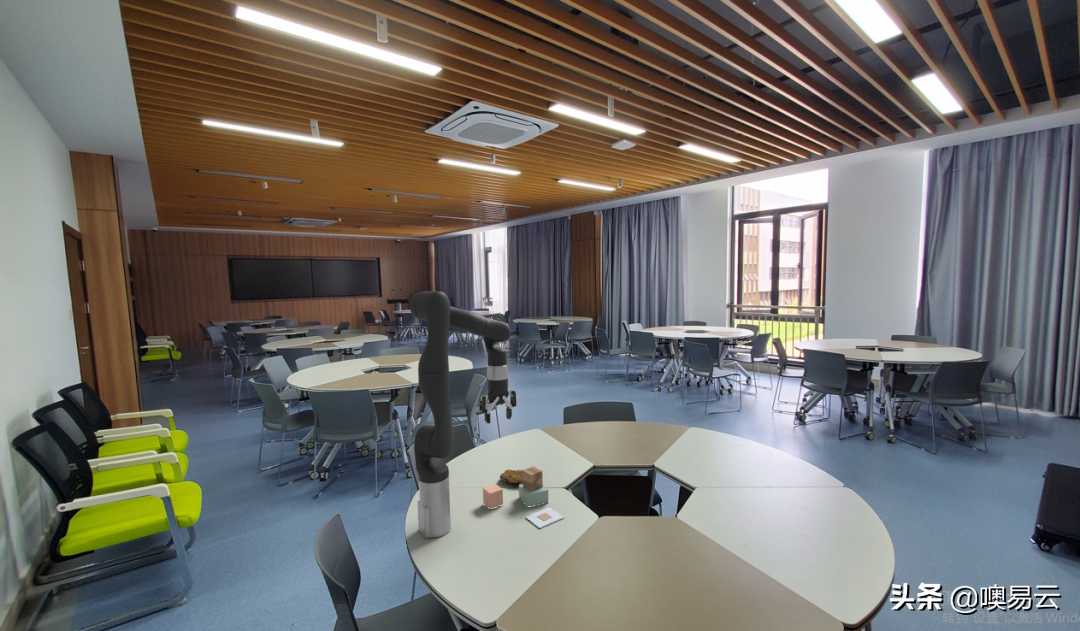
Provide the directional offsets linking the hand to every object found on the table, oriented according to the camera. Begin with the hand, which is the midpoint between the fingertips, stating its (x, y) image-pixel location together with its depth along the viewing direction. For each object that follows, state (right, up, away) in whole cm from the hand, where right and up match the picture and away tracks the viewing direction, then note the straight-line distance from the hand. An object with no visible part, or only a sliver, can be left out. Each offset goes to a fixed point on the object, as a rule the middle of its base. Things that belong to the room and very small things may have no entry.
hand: (498, 420), depth 159 cm
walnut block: (+13, -23, -4) cm, 26 cm away
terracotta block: (-1, -28, -7) cm, 29 cm away
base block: (+13, -28, -4) cm, 31 cm away
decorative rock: (+7, -27, +11) cm, 30 cm away
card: (+17, -28, -16) cm, 36 cm away
